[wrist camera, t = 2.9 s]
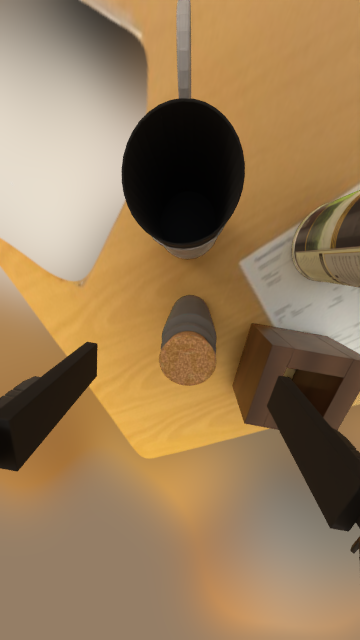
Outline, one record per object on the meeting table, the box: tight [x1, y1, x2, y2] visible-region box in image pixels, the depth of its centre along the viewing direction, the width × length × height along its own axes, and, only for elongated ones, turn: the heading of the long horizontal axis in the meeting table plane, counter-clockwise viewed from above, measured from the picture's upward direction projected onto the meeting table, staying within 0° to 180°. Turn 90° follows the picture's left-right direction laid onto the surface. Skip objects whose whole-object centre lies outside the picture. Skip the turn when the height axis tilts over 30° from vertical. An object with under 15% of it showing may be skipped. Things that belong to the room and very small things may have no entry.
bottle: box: [159, 295, 216, 385], centre depth 22 cm, size 6×6×15 cm
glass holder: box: [122, 0, 245, 259], centre depth 17 cm, size 9×14×15 cm, turn 0°
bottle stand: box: [233, 323, 360, 430], centre depth 27 cm, size 12×12×8 cm
